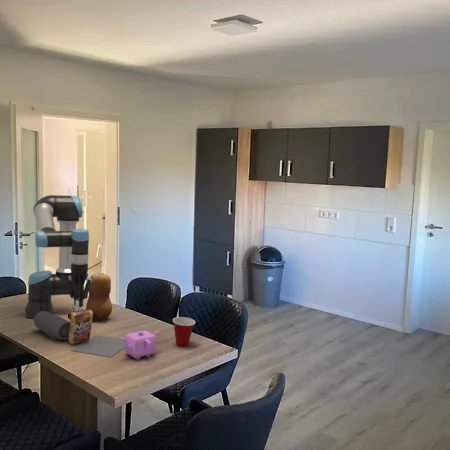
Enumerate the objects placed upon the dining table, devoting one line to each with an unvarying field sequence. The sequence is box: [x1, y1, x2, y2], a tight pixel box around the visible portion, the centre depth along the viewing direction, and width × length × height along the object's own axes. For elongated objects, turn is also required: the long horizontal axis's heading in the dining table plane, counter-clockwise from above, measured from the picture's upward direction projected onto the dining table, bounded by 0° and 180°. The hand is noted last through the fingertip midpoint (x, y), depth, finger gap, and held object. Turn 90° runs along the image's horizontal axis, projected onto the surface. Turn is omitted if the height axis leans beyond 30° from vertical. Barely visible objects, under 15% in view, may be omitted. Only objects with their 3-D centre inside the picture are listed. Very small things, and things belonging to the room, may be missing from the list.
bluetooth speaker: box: [33, 311, 71, 341], centre depth 237 cm, size 23×9×10 cm, turn 48°
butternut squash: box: [85, 272, 113, 322], centre depth 265 cm, size 14×13×25 cm
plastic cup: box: [172, 316, 196, 348], centre depth 235 cm, size 11×11×12 cm
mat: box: [70, 334, 125, 358], centre depth 228 cm, size 20×22×1 cm
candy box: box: [67, 309, 93, 345], centre depth 229 cm, size 9×4×15 cm, turn 126°
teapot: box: [119, 330, 160, 360], centre depth 219 cm, size 15×13×11 cm
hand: (78, 313), depth 230 cm, fingers closed
